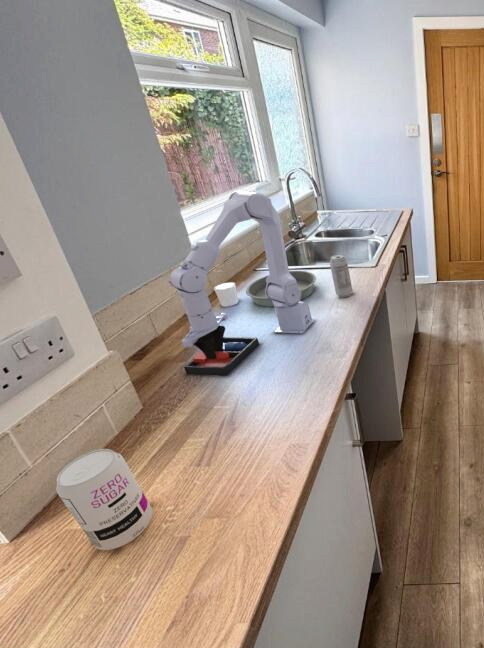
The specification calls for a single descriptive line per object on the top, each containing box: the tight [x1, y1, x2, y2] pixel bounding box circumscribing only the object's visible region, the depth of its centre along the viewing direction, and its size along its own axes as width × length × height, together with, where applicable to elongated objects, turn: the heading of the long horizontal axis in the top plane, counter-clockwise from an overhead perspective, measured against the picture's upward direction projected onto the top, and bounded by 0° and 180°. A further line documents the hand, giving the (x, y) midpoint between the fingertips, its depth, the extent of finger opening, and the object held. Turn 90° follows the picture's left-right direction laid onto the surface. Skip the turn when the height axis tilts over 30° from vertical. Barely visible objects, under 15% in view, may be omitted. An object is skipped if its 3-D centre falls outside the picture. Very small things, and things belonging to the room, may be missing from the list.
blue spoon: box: [223, 342, 247, 351], centre depth 117 cm, size 9×3×2 cm, turn 83°
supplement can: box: [55, 448, 154, 551], centre depth 66 cm, size 8×8×15 cm
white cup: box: [213, 281, 239, 308], centre depth 147 cm, size 7×7×7 cm
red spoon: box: [192, 351, 229, 363], centre depth 110 cm, size 9×3×2 cm, turn 83°
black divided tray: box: [183, 336, 260, 377], centre depth 114 cm, size 12×15×2 cm
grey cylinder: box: [329, 253, 353, 298], centre depth 147 cm, size 6×6×15 cm
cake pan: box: [245, 270, 317, 307], centre depth 152 cm, size 25×25×4 cm
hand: (215, 355), depth 110 cm, fingers closed on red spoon, 2 cm apart
